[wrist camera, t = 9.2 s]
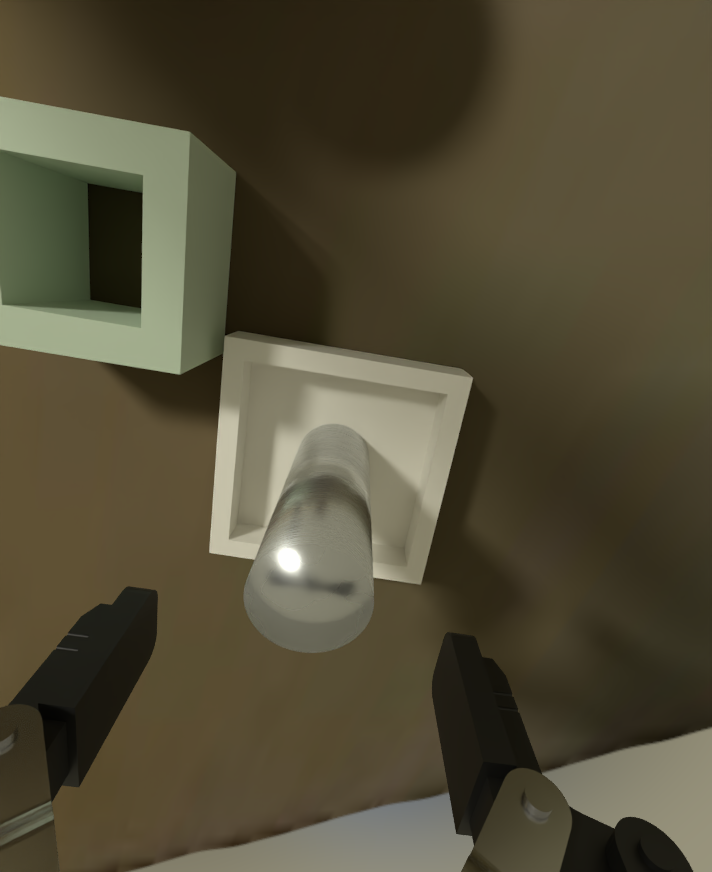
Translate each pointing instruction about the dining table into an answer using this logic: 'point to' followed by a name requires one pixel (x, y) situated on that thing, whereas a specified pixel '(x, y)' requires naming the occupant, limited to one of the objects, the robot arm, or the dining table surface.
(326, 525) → the pin
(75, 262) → the block
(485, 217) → the dining table surface
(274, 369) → the tray
